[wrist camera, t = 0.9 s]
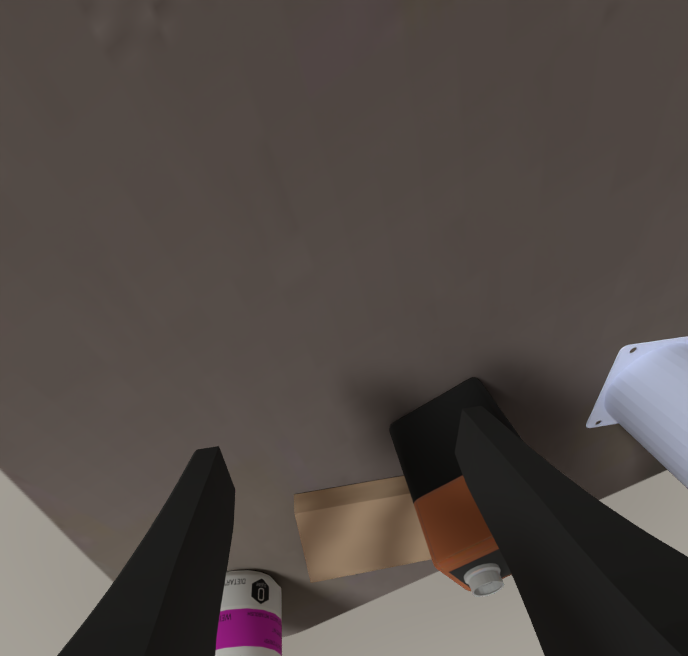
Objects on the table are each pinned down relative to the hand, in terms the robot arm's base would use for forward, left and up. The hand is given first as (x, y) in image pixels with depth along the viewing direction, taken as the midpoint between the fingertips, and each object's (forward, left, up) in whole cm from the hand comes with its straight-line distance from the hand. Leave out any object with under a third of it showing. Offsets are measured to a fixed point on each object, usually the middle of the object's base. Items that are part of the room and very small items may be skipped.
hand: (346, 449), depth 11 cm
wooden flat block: (-5, +21, -9) cm, 24 cm away
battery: (-8, +10, -10) cm, 16 cm away
